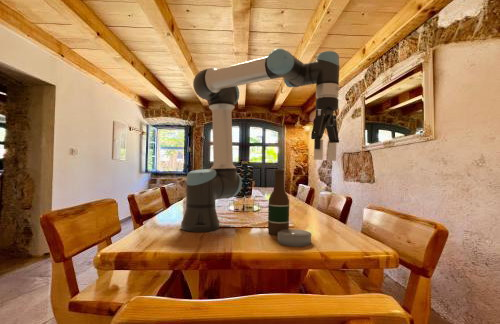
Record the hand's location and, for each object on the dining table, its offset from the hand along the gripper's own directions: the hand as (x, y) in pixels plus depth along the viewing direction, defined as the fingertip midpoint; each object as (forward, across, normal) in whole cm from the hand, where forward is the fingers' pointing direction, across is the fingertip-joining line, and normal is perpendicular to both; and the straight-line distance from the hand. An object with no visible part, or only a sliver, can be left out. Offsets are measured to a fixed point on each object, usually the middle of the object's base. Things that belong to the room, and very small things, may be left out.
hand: (325, 160), depth 94 cm
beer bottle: (+28, -1, +17) cm, 33 cm away
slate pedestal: (+28, -8, +7) cm, 30 cm away
